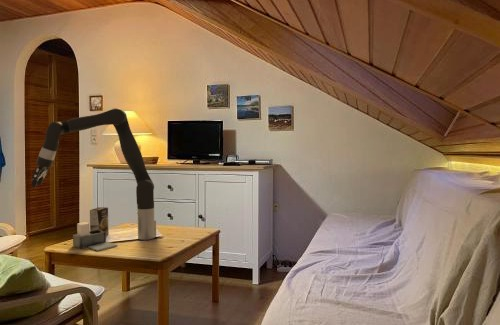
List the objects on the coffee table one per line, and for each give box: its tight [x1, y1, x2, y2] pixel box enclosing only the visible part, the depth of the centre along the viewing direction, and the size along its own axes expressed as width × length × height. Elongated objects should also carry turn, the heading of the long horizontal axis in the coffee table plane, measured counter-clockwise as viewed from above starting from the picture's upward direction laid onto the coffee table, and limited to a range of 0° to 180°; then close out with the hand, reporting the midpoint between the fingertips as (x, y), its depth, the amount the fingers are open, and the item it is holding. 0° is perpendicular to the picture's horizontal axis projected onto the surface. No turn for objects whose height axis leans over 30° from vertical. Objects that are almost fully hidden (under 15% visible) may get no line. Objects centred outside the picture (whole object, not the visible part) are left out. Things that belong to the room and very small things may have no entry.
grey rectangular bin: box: [72, 230, 107, 250], centre depth 203 cm, size 14×8×6 cm, turn 140°
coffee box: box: [89, 206, 109, 236], centre depth 220 cm, size 9×6×16 cm
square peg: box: [76, 221, 90, 237], centre depth 201 cm, size 4×4×12 cm
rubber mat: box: [88, 241, 118, 252], centre depth 199 cm, size 11×9×1 cm
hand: (35, 185), depth 204 cm, fingers open, 8 cm apart
